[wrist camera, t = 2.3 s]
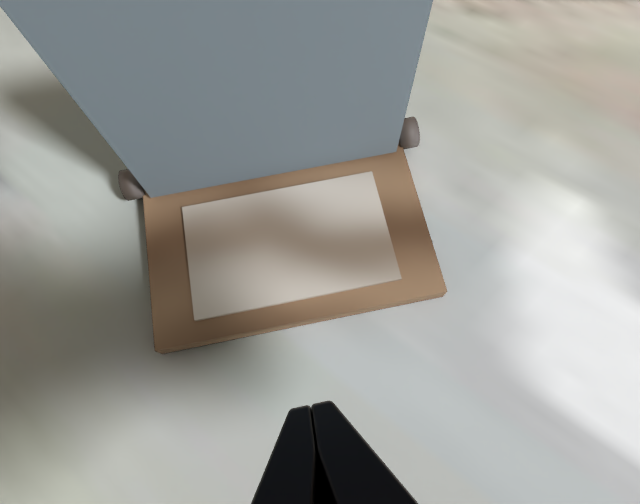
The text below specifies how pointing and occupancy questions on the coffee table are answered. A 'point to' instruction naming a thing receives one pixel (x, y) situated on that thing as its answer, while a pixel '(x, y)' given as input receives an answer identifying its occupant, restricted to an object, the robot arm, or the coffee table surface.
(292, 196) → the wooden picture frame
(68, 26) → the door
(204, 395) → the coffee table surface
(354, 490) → the robot arm
